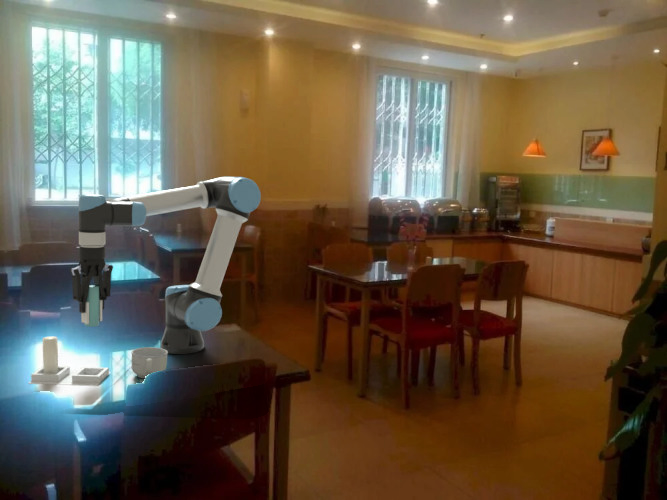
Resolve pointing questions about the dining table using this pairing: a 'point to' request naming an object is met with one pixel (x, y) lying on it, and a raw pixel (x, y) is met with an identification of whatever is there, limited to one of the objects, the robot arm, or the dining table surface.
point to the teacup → (148, 360)
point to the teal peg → (93, 305)
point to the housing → (71, 376)
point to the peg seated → (50, 355)
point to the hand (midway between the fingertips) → (91, 321)
